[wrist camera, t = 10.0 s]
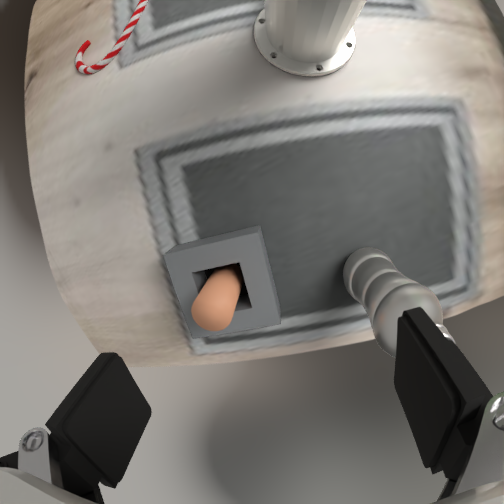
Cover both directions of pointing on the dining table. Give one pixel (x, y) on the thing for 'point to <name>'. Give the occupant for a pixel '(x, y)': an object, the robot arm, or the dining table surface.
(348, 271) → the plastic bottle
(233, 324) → the socket block
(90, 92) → the dining table surface
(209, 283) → the peg
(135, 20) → the candy cane
